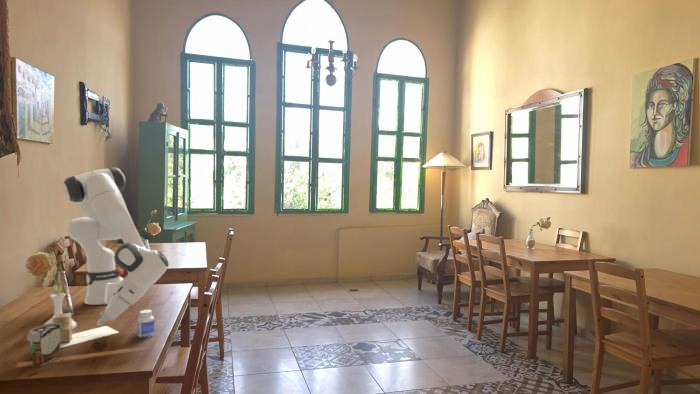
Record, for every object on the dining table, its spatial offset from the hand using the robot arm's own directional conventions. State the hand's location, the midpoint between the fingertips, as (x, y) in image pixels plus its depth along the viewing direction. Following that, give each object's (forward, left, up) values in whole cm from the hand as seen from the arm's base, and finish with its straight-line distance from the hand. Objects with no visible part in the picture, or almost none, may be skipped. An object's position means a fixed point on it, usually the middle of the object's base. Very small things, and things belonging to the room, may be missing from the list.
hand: (99, 320), depth 157 cm
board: (+4, -5, -7) cm, 9 cm away
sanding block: (+10, -5, -6) cm, 12 cm away
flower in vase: (+6, -20, -7) cm, 23 cm away
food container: (+19, +3, -7) cm, 20 cm away
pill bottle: (-11, +10, -7) cm, 17 cm away
